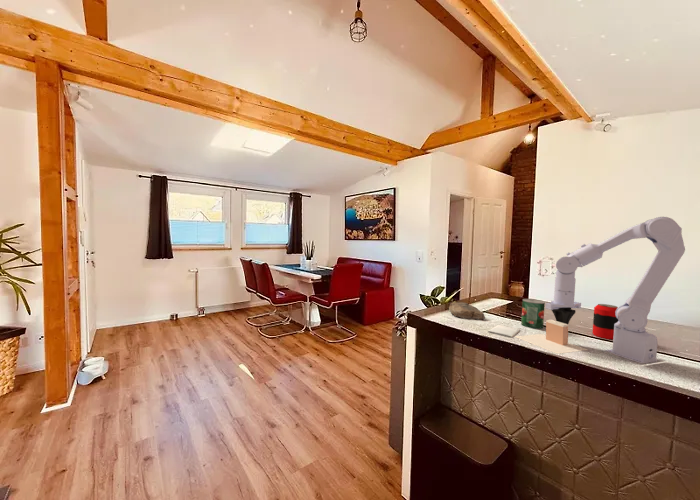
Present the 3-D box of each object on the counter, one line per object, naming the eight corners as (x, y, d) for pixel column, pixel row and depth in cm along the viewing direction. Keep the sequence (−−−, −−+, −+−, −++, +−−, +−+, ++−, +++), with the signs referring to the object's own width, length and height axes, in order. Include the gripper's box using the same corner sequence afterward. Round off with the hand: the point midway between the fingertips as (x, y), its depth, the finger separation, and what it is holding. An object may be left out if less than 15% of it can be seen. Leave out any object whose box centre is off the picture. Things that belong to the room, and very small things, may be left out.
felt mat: (588, 351, 94) (588, 349, 94) (557, 355, 90) (557, 353, 90) (542, 334, 110) (542, 333, 110) (514, 337, 105) (514, 336, 105)
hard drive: (511, 336, 104) (520, 328, 113) (487, 330, 109) (497, 323, 118) (511, 340, 104) (519, 332, 113) (487, 334, 109) (497, 327, 119)
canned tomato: (547, 330, 115) (548, 303, 115) (526, 328, 117) (527, 302, 116) (537, 324, 123) (539, 299, 123) (517, 323, 124) (519, 298, 124)
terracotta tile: (567, 344, 98) (568, 324, 98) (562, 345, 98) (563, 325, 97) (550, 338, 104) (551, 319, 104) (545, 339, 103) (546, 320, 103)
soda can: (588, 334, 112) (590, 304, 111) (597, 332, 115) (600, 302, 115) (613, 341, 105) (615, 308, 105) (622, 338, 109) (624, 307, 108)
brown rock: (445, 308, 149) (452, 317, 130) (446, 298, 149) (453, 307, 130) (474, 310, 147) (485, 321, 127) (474, 301, 147) (486, 310, 127)
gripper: (567, 288, 107) (565, 324, 107) (538, 289, 102) (536, 326, 103) (588, 291, 100) (585, 330, 101) (558, 293, 96) (555, 333, 96)
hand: (561, 328), depth 101 cm, fingers closed
